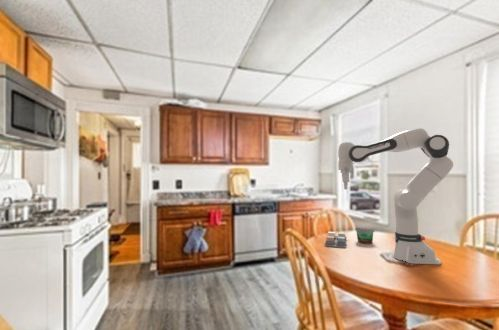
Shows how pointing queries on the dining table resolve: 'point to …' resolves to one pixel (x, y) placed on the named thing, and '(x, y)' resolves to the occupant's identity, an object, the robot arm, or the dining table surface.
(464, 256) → the dining table surface
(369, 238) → the food container
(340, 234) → the sage key
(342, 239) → the slate key
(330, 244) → the keypad base
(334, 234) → the cream key
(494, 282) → the dining table surface
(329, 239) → the terracotta key
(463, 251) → the dining table surface
